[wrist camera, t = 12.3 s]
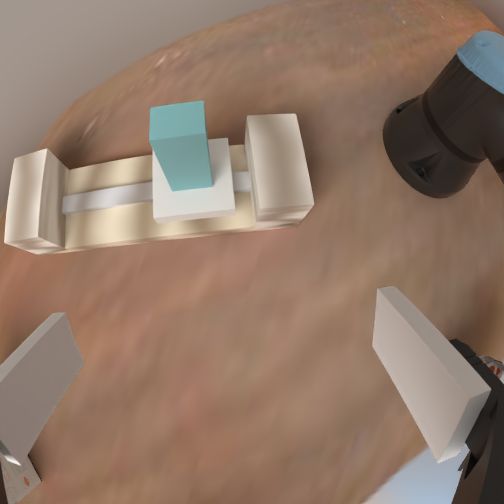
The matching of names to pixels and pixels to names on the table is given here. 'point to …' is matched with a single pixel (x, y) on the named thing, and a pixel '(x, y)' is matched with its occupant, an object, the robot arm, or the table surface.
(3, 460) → the small box
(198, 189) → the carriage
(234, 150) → the rail board
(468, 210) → the table surface
